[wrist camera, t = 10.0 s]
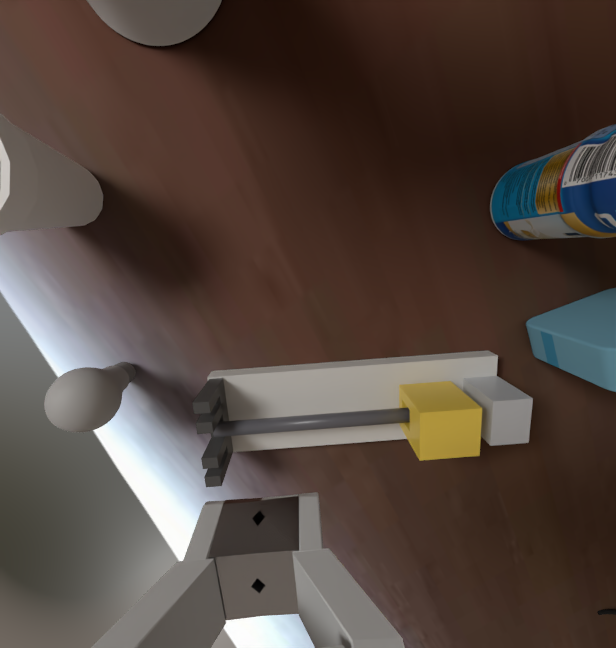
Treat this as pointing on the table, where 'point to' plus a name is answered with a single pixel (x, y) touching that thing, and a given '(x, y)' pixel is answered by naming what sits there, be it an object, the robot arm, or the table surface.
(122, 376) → the lightbulb
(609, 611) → the bike brake
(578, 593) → the table surface
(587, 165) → the beverage bottle
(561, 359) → the data package
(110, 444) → the table surface
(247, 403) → the board
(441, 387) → the sleeve
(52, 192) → the foam cup
